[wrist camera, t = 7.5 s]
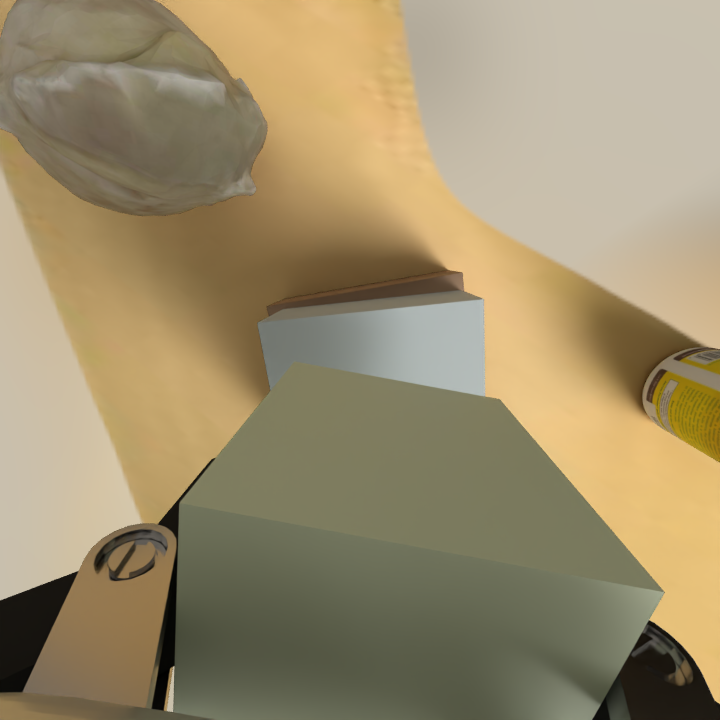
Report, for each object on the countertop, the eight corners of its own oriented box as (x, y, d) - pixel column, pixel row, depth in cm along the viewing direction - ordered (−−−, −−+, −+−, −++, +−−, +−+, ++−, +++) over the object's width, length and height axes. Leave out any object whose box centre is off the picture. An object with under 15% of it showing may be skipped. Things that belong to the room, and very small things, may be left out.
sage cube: (448, 561, 12) (515, 855, 6) (273, 528, 12) (170, 791, 6) (499, 399, 10) (664, 592, 4) (294, 361, 10) (178, 503, 4)
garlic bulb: (314, 165, 19) (248, 74, 10) (215, 271, 21) (79, 283, 12) (184, 13, 18) (-49, -279, 8) (90, 143, 20) (-188, 33, 10)
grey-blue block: (465, 450, 20) (486, 497, 16) (309, 461, 20) (293, 508, 17) (460, 290, 17) (483, 299, 13) (283, 308, 18) (257, 322, 14)
